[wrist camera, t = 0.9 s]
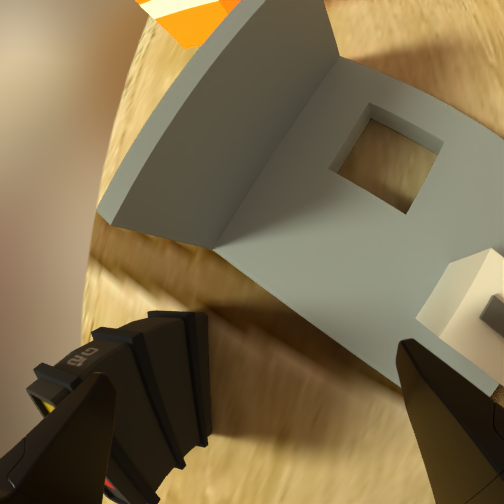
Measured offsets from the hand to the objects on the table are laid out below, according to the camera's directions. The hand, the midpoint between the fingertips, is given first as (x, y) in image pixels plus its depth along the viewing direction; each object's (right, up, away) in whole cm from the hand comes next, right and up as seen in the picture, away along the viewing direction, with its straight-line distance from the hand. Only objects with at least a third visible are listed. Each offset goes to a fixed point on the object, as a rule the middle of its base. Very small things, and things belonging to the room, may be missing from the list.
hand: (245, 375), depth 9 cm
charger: (+13, 0, +8) cm, 15 cm away
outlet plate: (+11, +6, +12) cm, 17 cm away
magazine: (-5, -8, +17) cm, 19 cm away
